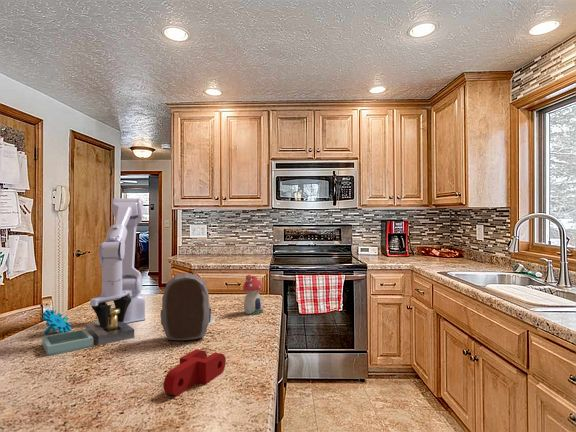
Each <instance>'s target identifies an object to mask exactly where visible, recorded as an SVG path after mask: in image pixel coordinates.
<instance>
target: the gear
mask: <svg viewBox="0 0 576 432" xmlns="http://www.w3.org/2000/svg"><path fill="white" fill-rule="evenodd" d="M56 313H57V312H56V311H55V310H54V309H51V310H50V309H46V310H44V312H43V313H41V315H42V316H43V317H42V318H41V319H42V321H43V322H44V321H45V325H46V326H47V328H46V329H45V330H44V331H43V334H44V335H47V334H48V333H49V332H50V331H51V330H52V331H54V332H55V331H57V330H58V334H60V333H65V332H71V330H72V327H71V325H72V324H71V322H69V321H68V319H69V317H68V316H67V315H65V316H64V317H62V316H63V315H62V313H61V312H58V313H57V314H56Z"/></svg>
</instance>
